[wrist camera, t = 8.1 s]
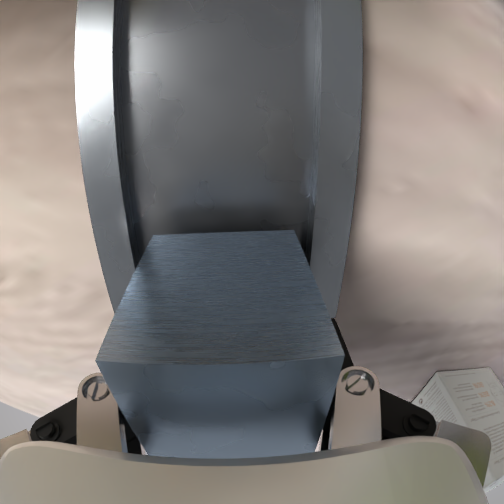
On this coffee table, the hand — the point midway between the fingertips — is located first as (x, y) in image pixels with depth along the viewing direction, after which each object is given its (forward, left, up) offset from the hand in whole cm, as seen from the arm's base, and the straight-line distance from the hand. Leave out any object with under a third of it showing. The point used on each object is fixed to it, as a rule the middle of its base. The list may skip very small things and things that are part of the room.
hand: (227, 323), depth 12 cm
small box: (-18, +12, -3) cm, 22 cm away
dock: (0, -7, -3) cm, 7 cm away
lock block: (0, 0, -1) cm, 1 cm away
